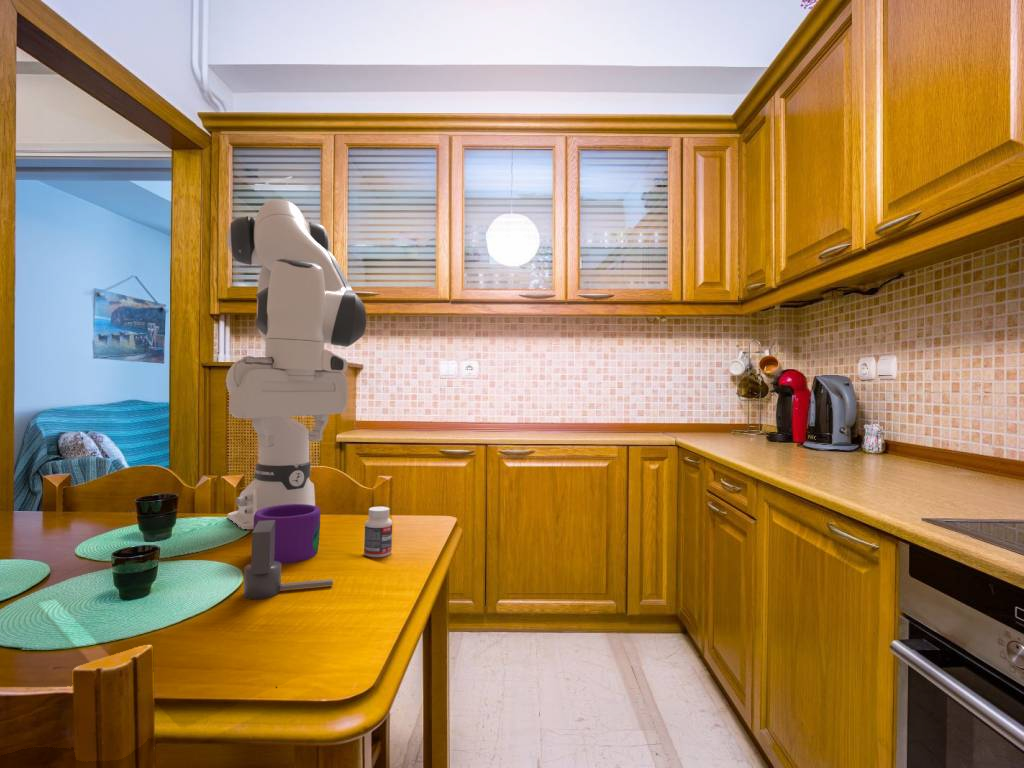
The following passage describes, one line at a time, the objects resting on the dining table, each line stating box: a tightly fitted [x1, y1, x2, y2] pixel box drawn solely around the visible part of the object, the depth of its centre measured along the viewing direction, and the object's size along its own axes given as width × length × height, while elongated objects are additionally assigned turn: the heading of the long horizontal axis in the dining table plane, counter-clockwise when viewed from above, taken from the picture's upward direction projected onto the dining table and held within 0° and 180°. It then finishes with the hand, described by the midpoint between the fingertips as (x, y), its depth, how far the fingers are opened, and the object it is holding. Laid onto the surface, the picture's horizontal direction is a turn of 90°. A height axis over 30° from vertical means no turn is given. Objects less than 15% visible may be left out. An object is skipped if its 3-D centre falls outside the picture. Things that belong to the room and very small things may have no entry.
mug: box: [252, 504, 321, 565], centre depth 99 cm, size 17×11×10 cm, turn 11°
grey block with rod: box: [243, 520, 334, 600], centre depth 80 cm, size 12×7×10 cm, turn 109°
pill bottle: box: [363, 506, 393, 559], centre depth 103 cm, size 5×5×9 cm
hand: (291, 443), depth 85 cm, fingers open, 8 cm apart
